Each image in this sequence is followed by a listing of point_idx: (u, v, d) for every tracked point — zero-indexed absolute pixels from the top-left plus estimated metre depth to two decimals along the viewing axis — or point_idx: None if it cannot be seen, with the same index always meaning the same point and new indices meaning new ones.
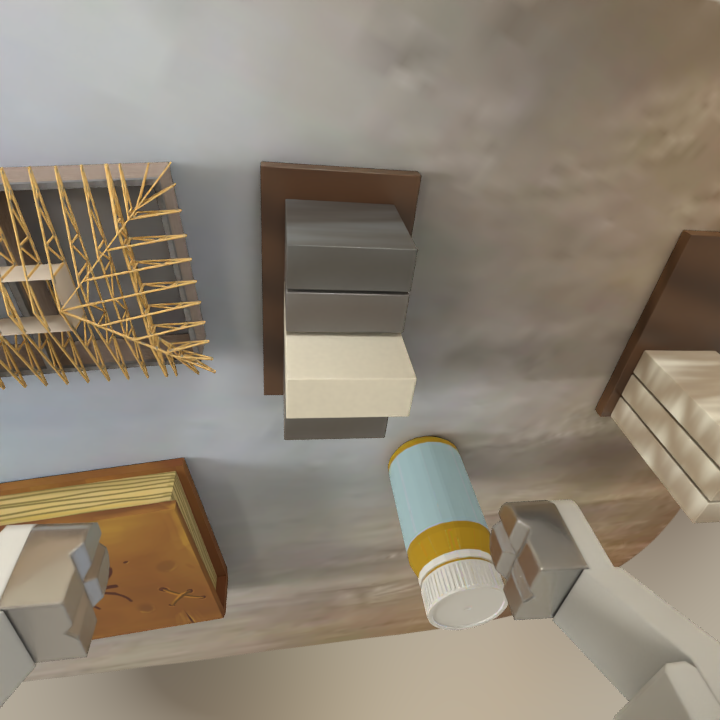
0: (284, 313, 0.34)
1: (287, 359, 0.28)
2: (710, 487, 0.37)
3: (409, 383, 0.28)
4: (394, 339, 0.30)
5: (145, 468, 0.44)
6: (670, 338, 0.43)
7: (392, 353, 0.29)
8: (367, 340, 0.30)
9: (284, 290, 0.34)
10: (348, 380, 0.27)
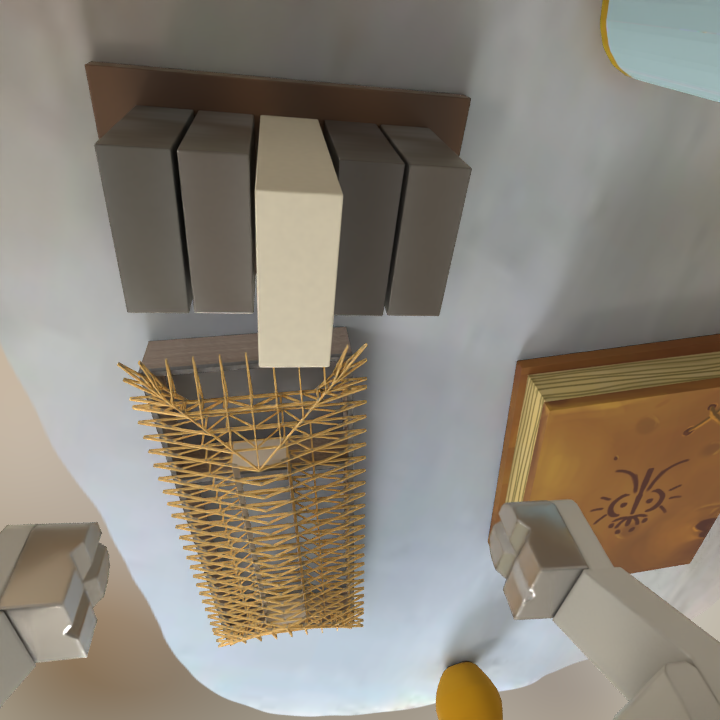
0: None
1: None
2: None
3: (266, 202, 0.16)
4: None
5: (515, 399, 0.39)
6: None
7: None
8: None
9: None
10: (260, 294, 0.18)
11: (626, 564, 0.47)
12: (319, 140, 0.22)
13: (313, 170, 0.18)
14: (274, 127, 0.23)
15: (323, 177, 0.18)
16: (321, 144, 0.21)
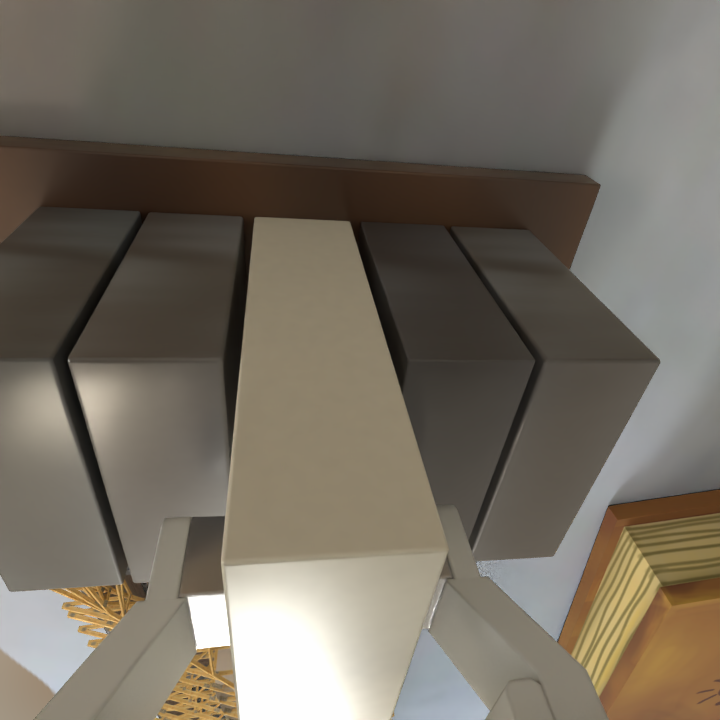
0: None
1: None
2: None
3: (253, 580, 0.06)
4: None
5: (601, 551, 0.29)
6: None
7: None
8: None
9: None
10: (241, 697, 0.08)
11: None
12: (360, 288, 0.12)
13: (362, 419, 0.08)
14: (277, 252, 0.13)
15: (387, 452, 0.08)
16: (365, 302, 0.11)
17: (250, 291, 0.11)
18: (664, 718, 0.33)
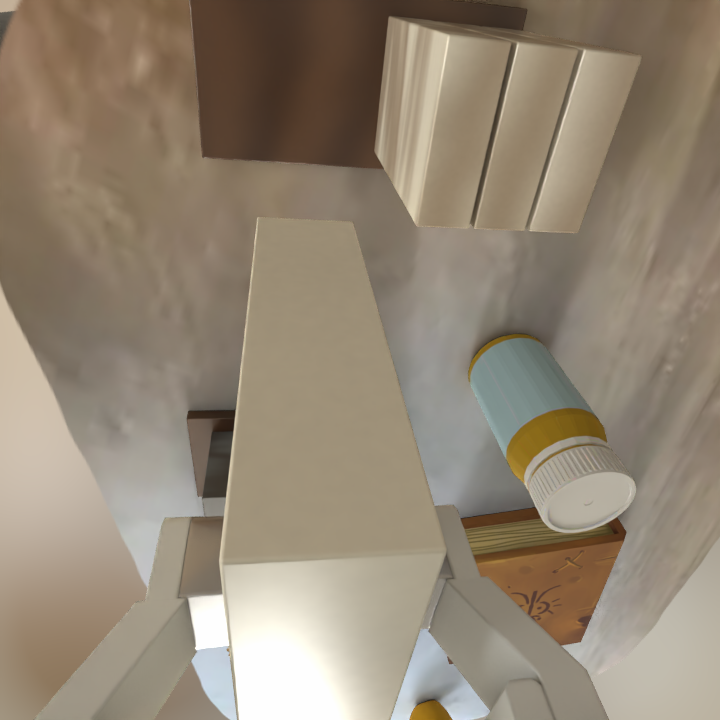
0: None
1: None
2: None
3: (250, 579, 0.06)
4: None
5: None
6: (357, 116, 0.30)
7: None
8: None
9: None
10: (240, 696, 0.08)
11: None
12: (361, 289, 0.12)
13: (362, 420, 0.08)
14: (279, 253, 0.13)
15: (386, 452, 0.08)
16: (367, 303, 0.11)
17: (252, 291, 0.11)
18: None
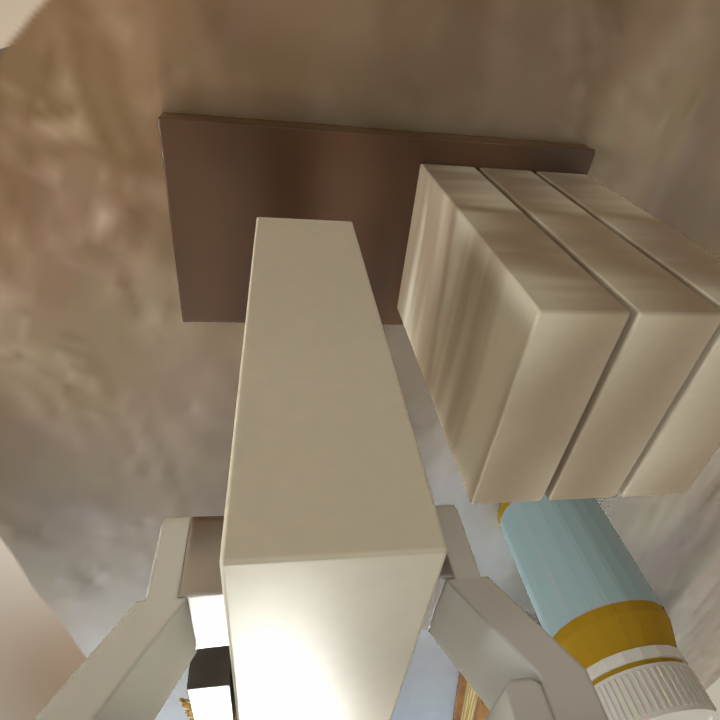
0: None
1: None
2: None
3: (251, 580, 0.06)
4: None
5: None
6: (377, 272, 0.24)
7: None
8: None
9: None
10: (240, 697, 0.08)
11: None
12: (361, 289, 0.12)
13: (362, 420, 0.08)
14: (279, 253, 0.13)
15: (386, 452, 0.08)
16: (366, 303, 0.11)
17: (251, 291, 0.11)
18: None
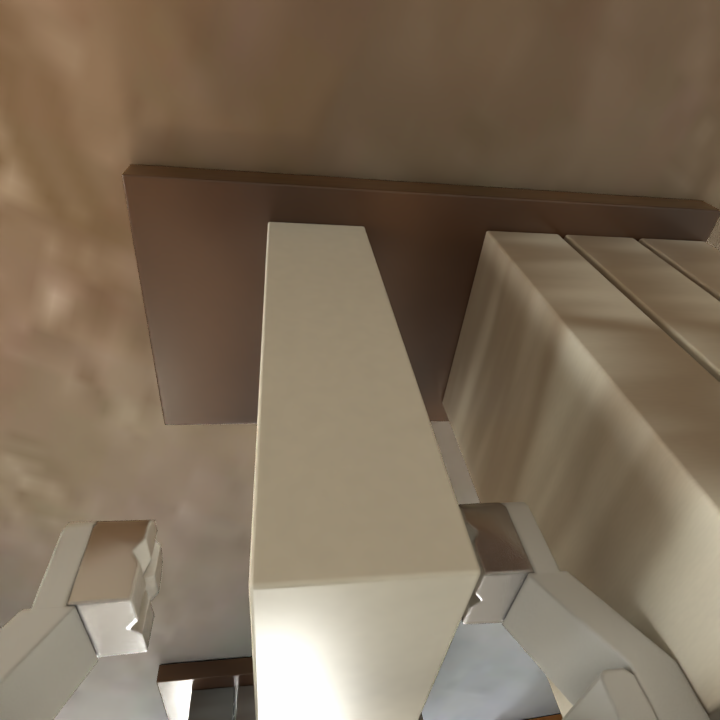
0: None
1: None
2: None
3: (280, 604, 0.06)
4: None
5: None
6: (419, 362, 0.18)
7: None
8: None
9: None
10: (262, 716, 0.08)
11: None
12: (377, 296, 0.12)
13: (386, 434, 0.08)
14: (292, 259, 0.13)
15: (412, 468, 0.07)
16: (383, 311, 0.11)
17: (267, 299, 0.11)
18: None
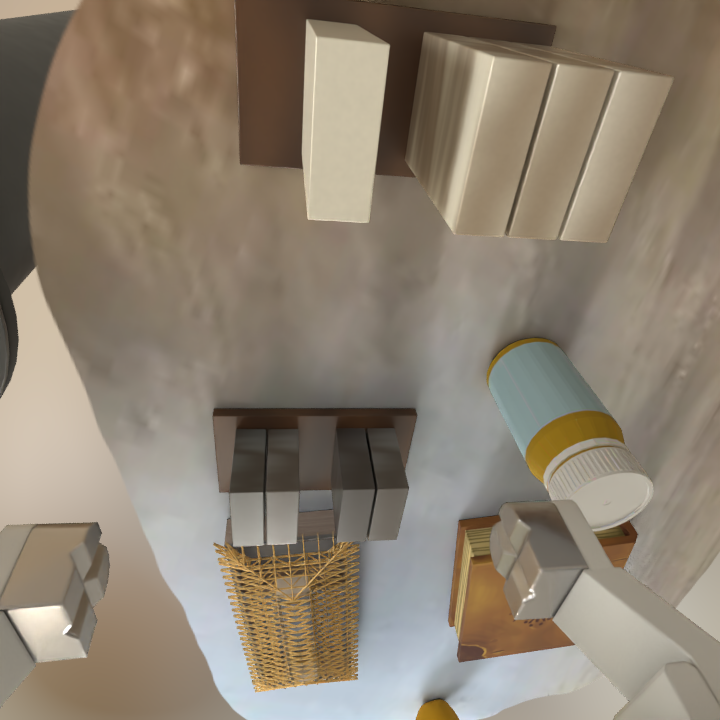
0: None
1: (306, 204, 0.24)
2: None
3: (325, 49, 0.19)
4: (311, 43, 0.22)
5: (458, 542, 0.59)
6: (390, 126, 0.31)
7: (312, 57, 0.21)
8: (309, 87, 0.23)
9: None
10: (313, 142, 0.21)
11: (541, 644, 0.67)
12: (362, 30, 0.24)
13: (361, 36, 0.21)
14: (321, 23, 0.26)
15: (370, 38, 0.20)
16: (364, 31, 0.24)
17: (311, 24, 0.24)
18: (498, 630, 0.63)
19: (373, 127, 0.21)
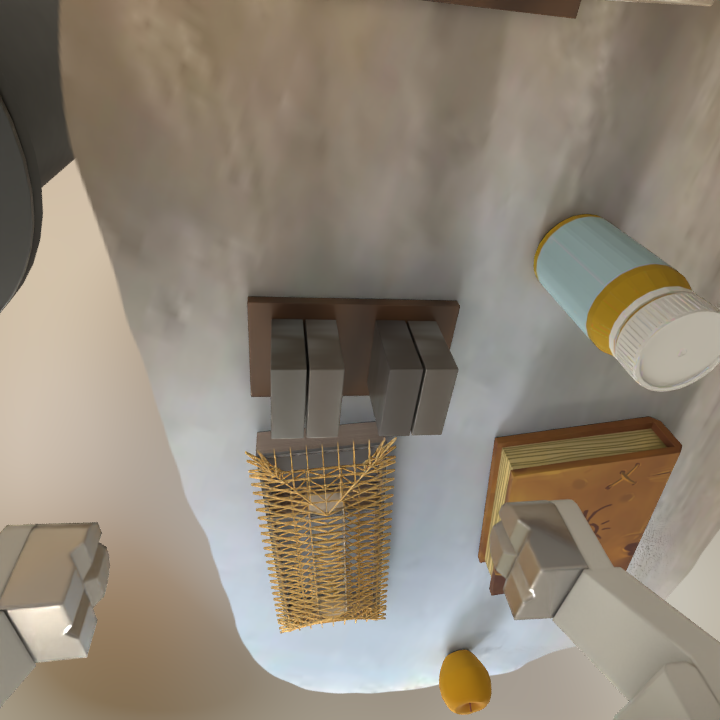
0: None
1: None
2: None
3: None
4: None
5: (494, 462, 0.57)
6: None
7: None
8: None
9: None
10: None
11: None
12: None
13: None
14: None
15: None
16: None
17: None
18: None
19: None
